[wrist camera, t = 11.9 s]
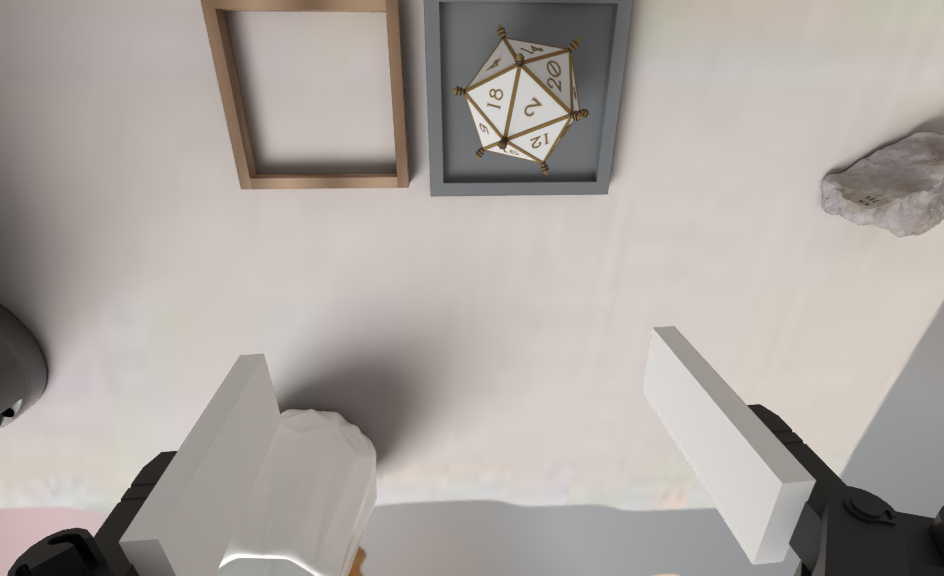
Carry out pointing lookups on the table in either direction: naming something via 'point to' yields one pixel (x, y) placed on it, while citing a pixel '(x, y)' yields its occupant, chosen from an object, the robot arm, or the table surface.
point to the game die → (524, 99)
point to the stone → (892, 187)
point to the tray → (465, 51)
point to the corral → (214, 9)
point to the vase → (306, 500)
